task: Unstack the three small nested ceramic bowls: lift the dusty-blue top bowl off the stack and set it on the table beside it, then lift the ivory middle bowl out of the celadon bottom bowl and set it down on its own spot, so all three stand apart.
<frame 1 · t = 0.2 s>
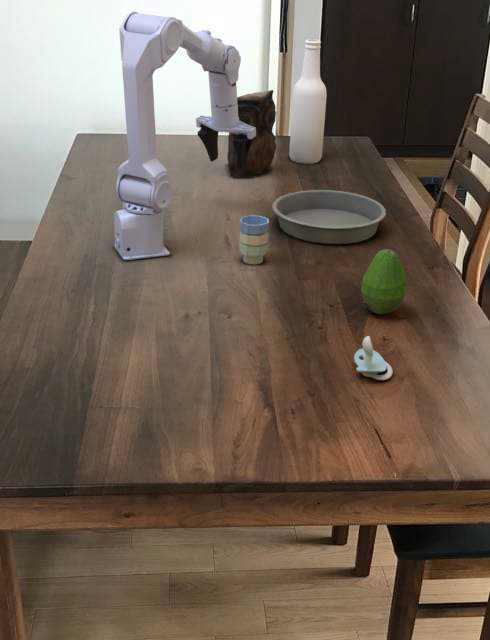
hand: (227, 163, 198), 11 cm above the table, tool pointing down, fingers open, 7 cm apart
celadon bowl: (252, 260, 178), on the table, touching ivory bowl
cake pan: (327, 227, 196), on the table
alcohol: (305, 160, 239), on the table
owl: (246, 171, 229), on the table
blue bowl: (253, 239, 176), point 4 cm above the table, touching ivory bowl
ivory bowl: (253, 250, 177), point 2 cm above the table, touching blue bowl, celadon bowl
pacifier: (373, 373, 141), on the table
avocado: (380, 313, 160), on the table
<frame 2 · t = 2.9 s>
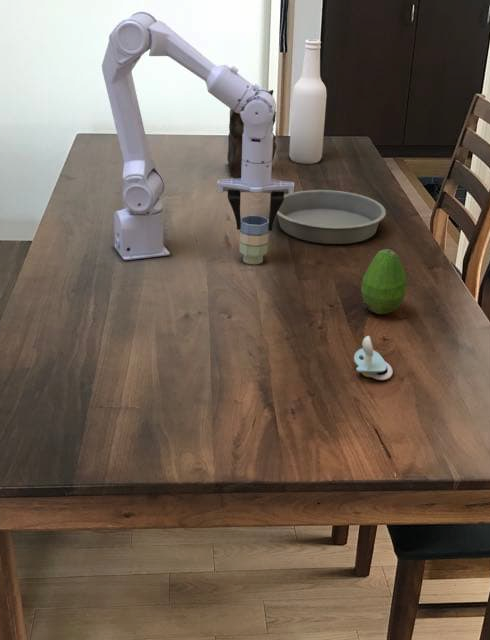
hand: (254, 228, 175), 7 cm above the table, tool pointing down, fingers closed on blue bowl, 5 cm apart
blue bowl: (253, 239, 176), point 4 cm above the table, touching gripper, ivory bowl
everything else where it was.
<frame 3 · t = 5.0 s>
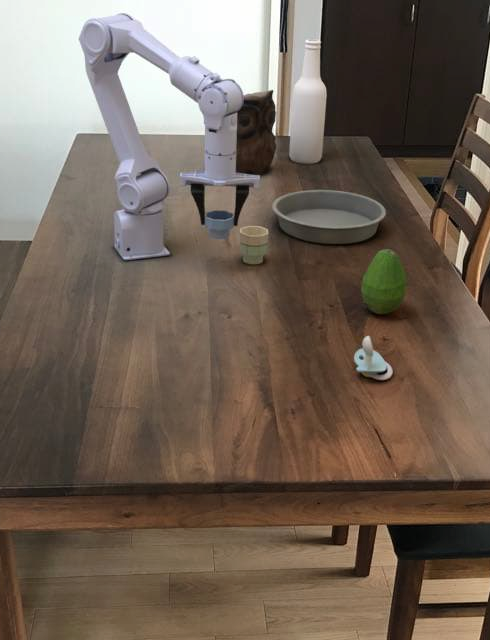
hand: (219, 223, 168), 10 cm above the table, tool pointing down, fingers closed on blue bowl, 5 cm apart
blue bowl: (219, 235, 169), point 7 cm above the table, touching gripper
ivory bowl: (253, 250, 177), point 2 cm above the table, touching celadon bowl
everything else where it was.
when the fingers open (2 cm above the table, at t = 7.2 s): blue bowl stays where it is, on the table.
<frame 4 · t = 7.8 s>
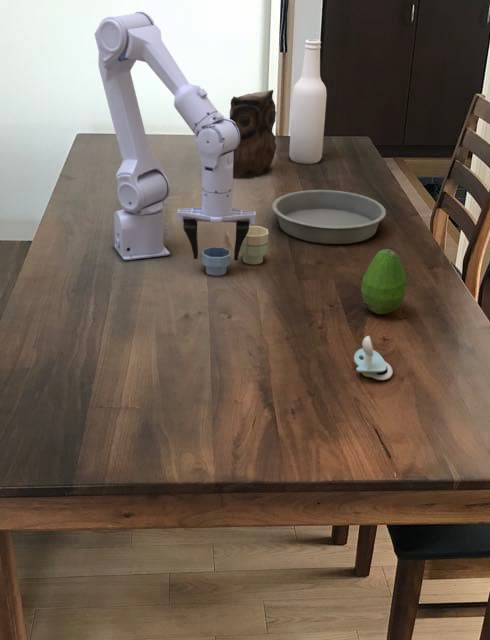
hand: (215, 257, 171), 3 cm above the table, tool pointing down, fingers open, 7 cm apart
blue bowl: (216, 271, 173), on the table
everything else where it was.
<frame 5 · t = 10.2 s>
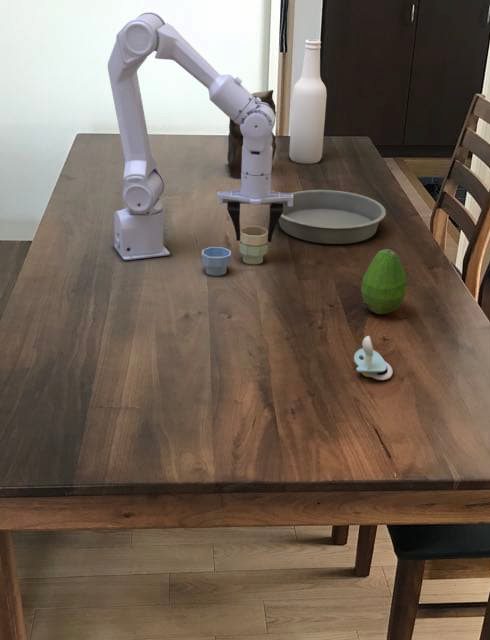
hand: (253, 239, 176), 4 cm above the table, tool pointing down, fingers closed on ivory bowl, 5 cm apart
ivory bowl: (253, 250, 177), point 2 cm above the table, touching celadon bowl, gripper
everything else where it was.
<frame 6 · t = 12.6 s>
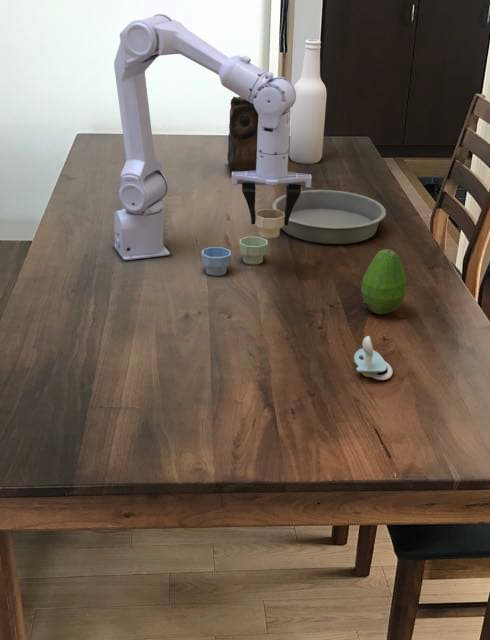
hand: (269, 223, 167), 10 cm above the table, tool pointing down, fingers closed on ivory bowl, 5 cm apart
celadon bowl: (252, 260, 178), on the table
ivory bowl: (269, 234, 168), point 8 cm above the table, touching gripper
everything else where it was.
when the fingers open (2 cm above the table, at t = 15.2 s): ivory bowl stays where it is, on the table.
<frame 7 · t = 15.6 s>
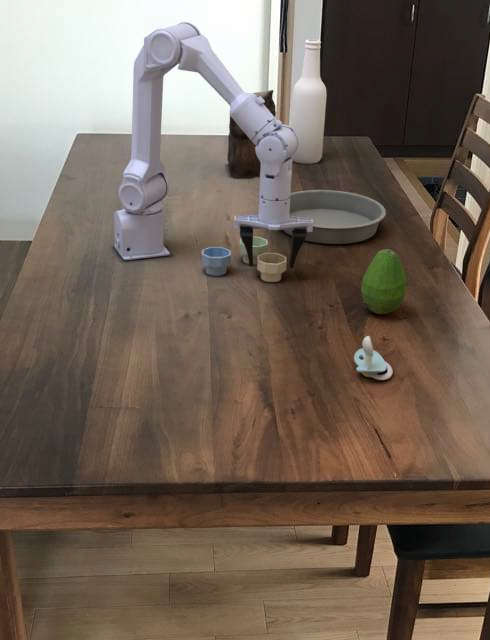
hand: (271, 265, 170), 3 cm above the table, tool pointing down, fingers open, 7 cm apart
ivory bowl: (270, 277, 171), on the table
everything else where it was.
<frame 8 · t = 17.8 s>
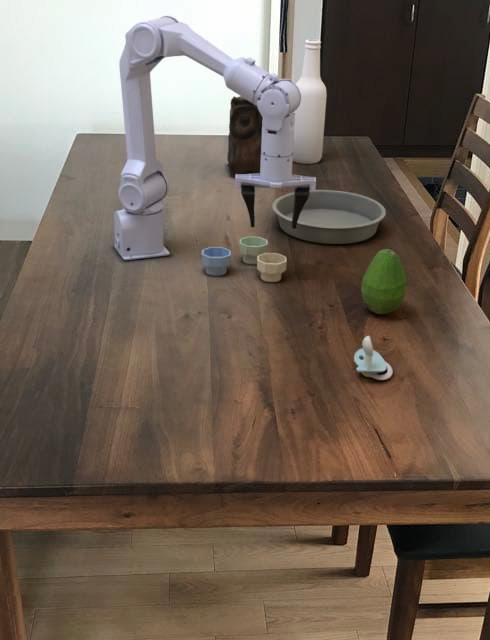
hand: (273, 226, 166), 10 cm above the table, tool pointing down, fingers open, 7 cm apart
nothing on the table moved.
at the end: blue bowl 0.1 cm from the target spot, on the table; ivory bowl 0.0 cm from the target spot, on the table; celadon bowl moved 0.0 cm from its start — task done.
